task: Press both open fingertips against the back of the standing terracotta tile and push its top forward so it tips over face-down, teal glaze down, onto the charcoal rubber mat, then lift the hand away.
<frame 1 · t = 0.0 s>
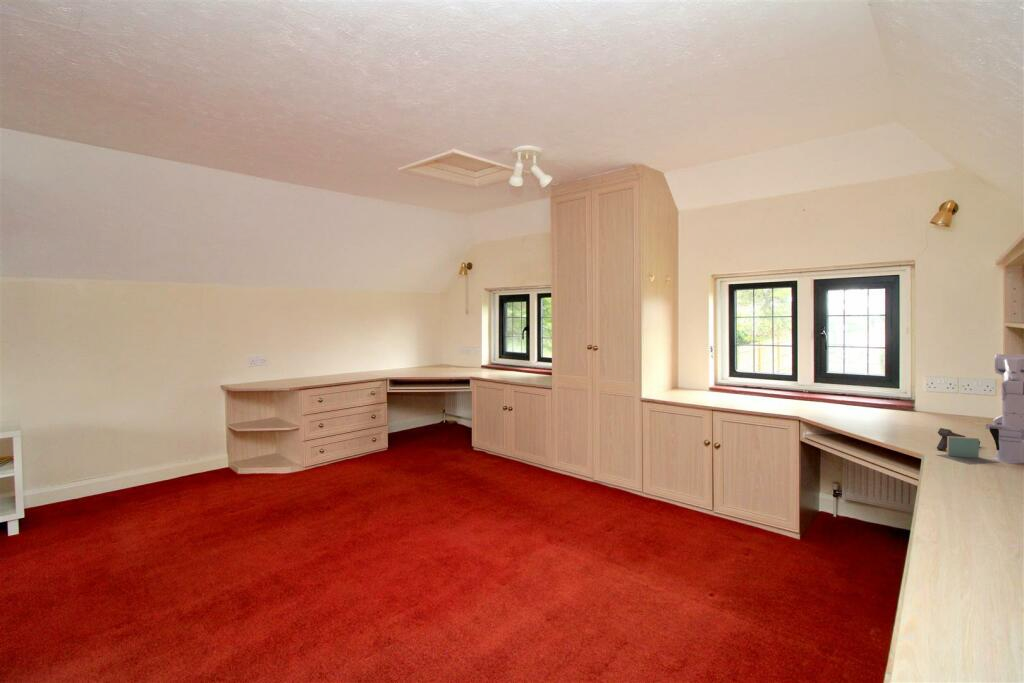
hand: (1012, 451, 182), 11 cm above the table, tool pointing down, fingers open, 7 cm apart
mat: (966, 459, 209), on the table
handgun: (958, 449, 226), on the table
tile: (962, 456, 212), resting on mat
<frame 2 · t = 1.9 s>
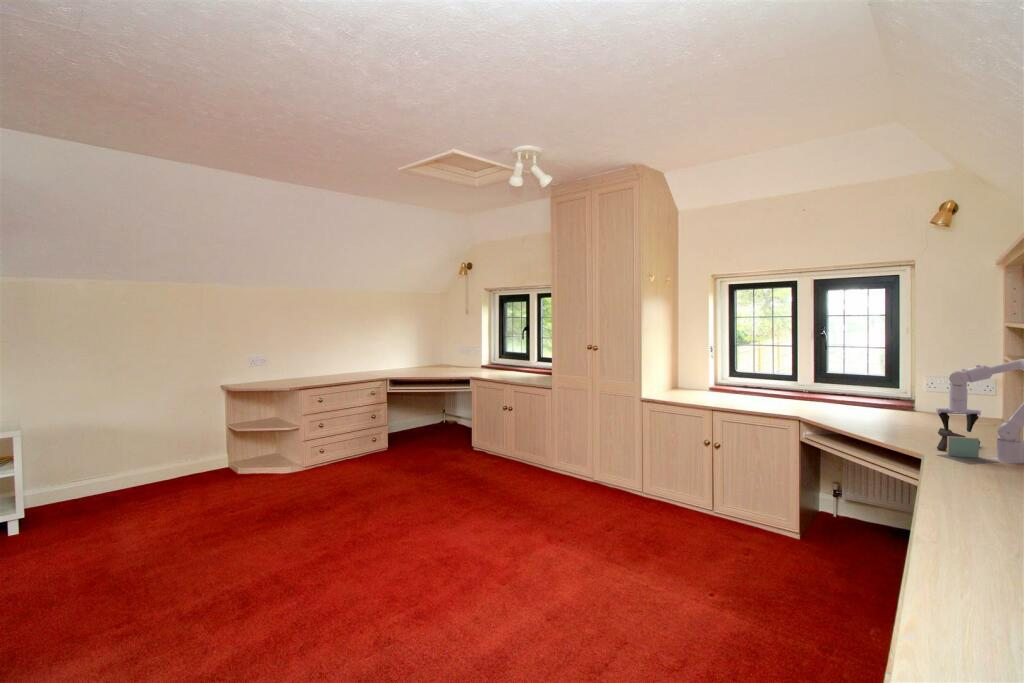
hand: (957, 430, 217), 10 cm above the table, tool pointing down, fingers open, 7 cm apart
nothing on the table moved.
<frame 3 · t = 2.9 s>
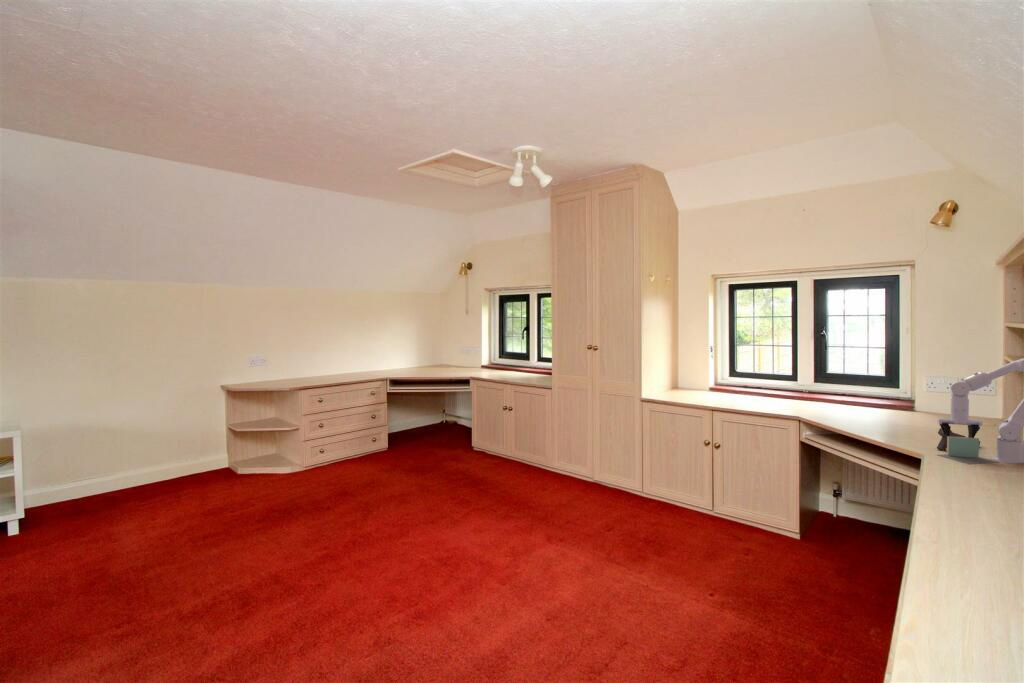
hand: (958, 441, 216), 6 cm above the table, tool pointing down, fingers open, 7 cm apart
nothing on the table moved.
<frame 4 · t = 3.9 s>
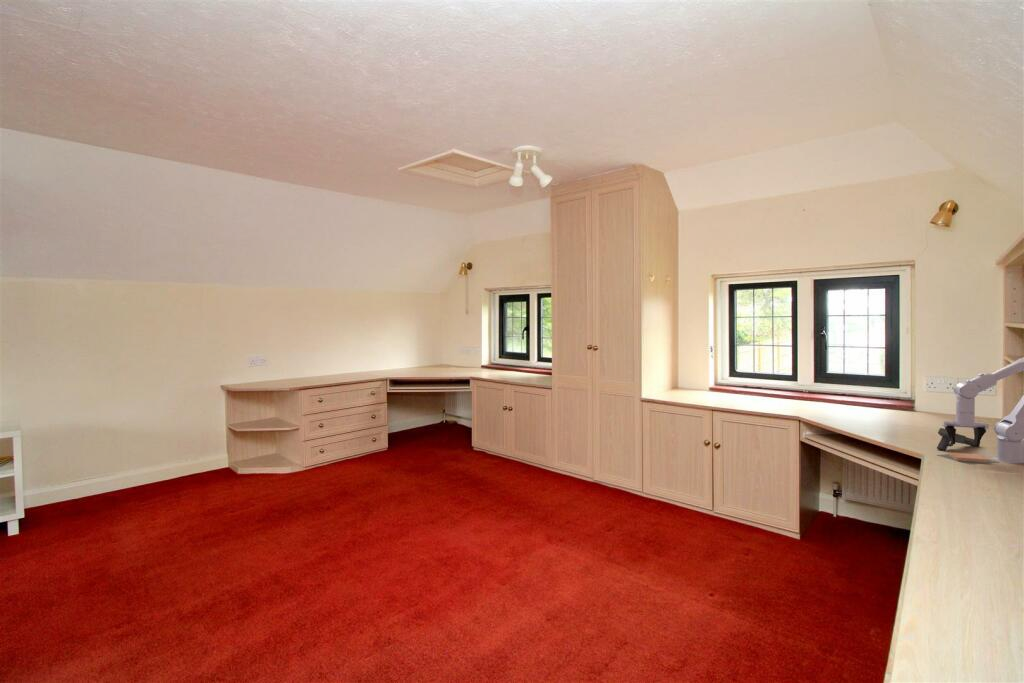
hand: (964, 444, 211), 6 cm above the table, tool pointing down, fingers open, 7 cm apart
tile: (963, 455, 211), point 1 cm above the table, tilted 90°, touching mat
everything else where it was.
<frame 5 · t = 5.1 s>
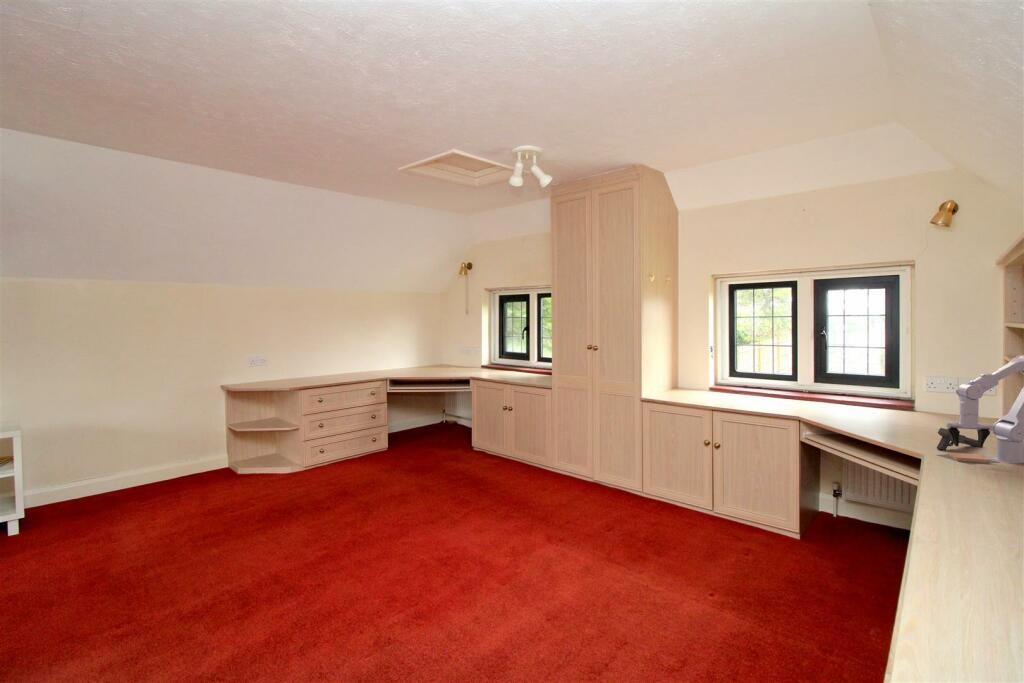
hand: (968, 446, 207), 6 cm above the table, tool pointing down, fingers open, 7 cm apart
nothing on the table moved.
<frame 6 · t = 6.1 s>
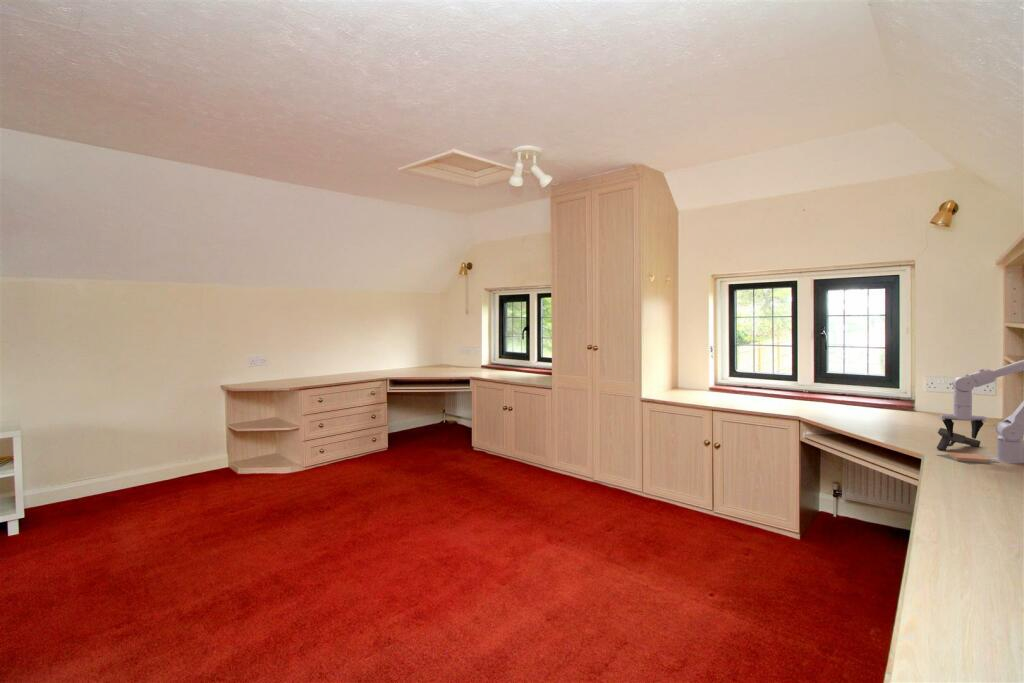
hand: (962, 437, 213), 8 cm above the table, tool pointing down, fingers open, 7 cm apart
nothing on the table moved.
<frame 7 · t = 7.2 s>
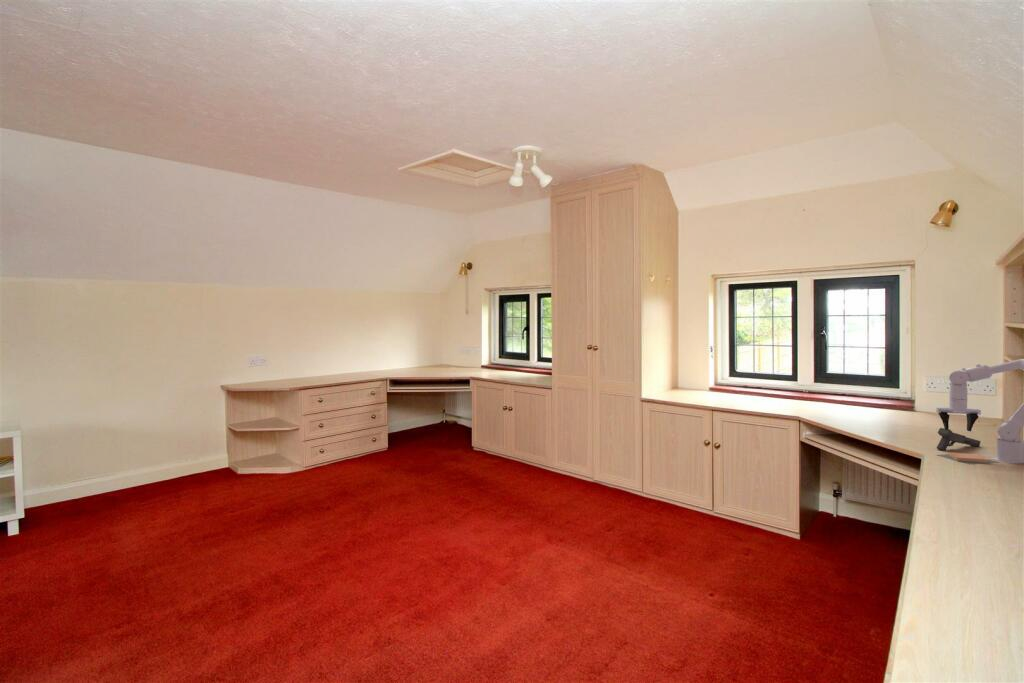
hand: (957, 430, 217), 10 cm above the table, tool pointing down, fingers open, 7 cm apart
nothing on the table moved.
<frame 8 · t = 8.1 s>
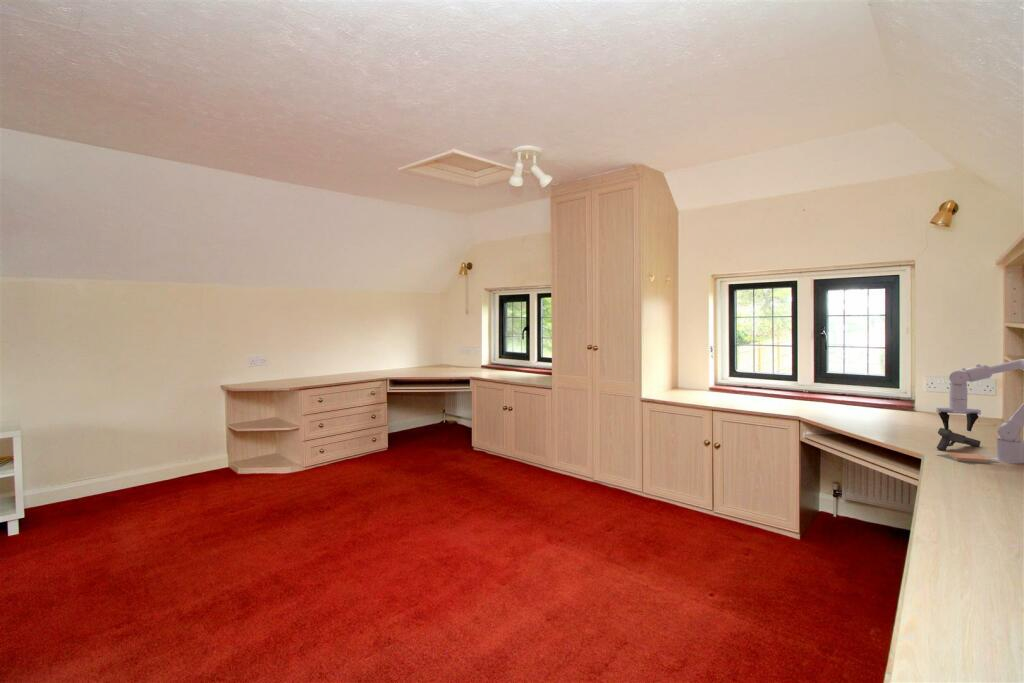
hand: (957, 430, 217), 10 cm above the table, tool pointing down, fingers open, 7 cm apart
nothing on the table moved.
at the end: tile tilted 90°; tile inside the target area on the mat (2.5 cm from its centre), point 1.2 cm above the mat's base; tile touching mat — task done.
